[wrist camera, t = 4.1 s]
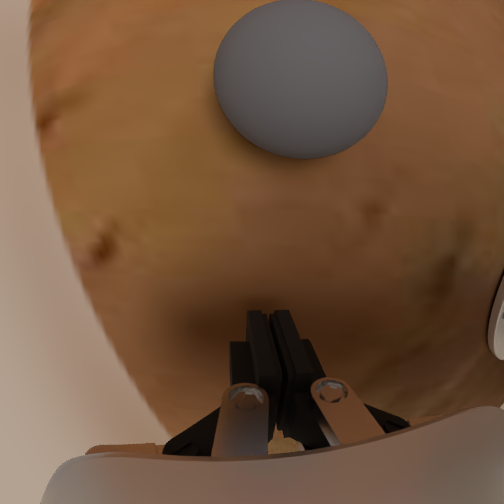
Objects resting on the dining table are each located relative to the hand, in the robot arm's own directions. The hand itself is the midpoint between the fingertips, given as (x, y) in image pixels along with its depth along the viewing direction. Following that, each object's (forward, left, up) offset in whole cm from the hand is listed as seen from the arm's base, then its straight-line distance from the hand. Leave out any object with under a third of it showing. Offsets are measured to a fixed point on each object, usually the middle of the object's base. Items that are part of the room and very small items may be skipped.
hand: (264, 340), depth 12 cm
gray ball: (+7, -7, +1) cm, 10 cm away
